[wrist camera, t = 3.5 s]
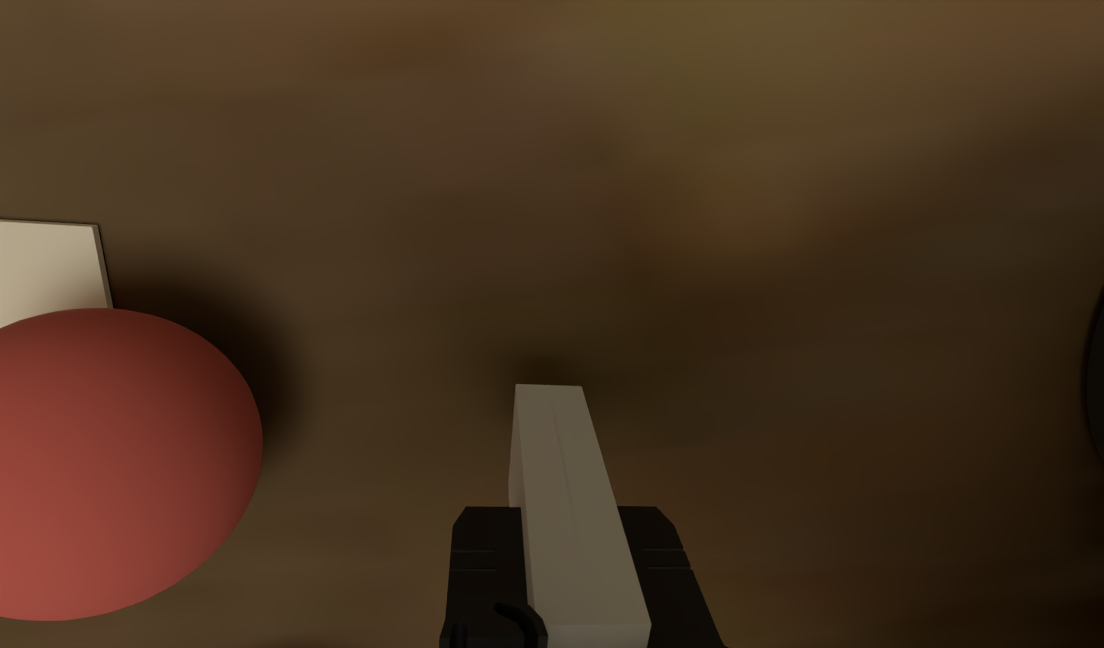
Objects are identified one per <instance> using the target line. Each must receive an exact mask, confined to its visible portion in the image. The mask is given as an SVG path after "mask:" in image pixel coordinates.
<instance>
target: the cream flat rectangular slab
mask: <svg viewBox="0 0 1104 648" xmlns="http://www.w3.org/2000/svg"><path fill="white" fill-rule="evenodd" d="M82 308H112V309H113V304H112V299H111V294H110V288H109V283H108V278H107V273H106V267H105V262H104V257H103V251H102V246H101V241H100V236H99V230H98V225H91V224H74V223H57V222H40V221H23V220H6V219H0V328H2V327H4V326H7V325H9V324H12V323H14V322H17V321H19V320H22V319H26V318H30V317H34V316H37V315H41V314H46V313H50V312H55V311H62V310H69V309H82Z"/></svg>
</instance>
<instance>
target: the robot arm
mask: <svg viewBox="0 0 1104 648" xmlns="http://www.w3.org/2000/svg"><path fill="white" fill-rule="evenodd" d="M1086 401H1087V413H1088V419H1089V424H1090V429H1091V432H1092V436H1093V439H1094V442H1095V445H1096V447H1097V449H1098V452H1099V454H1100V456H1101V458H1102V460H1103V461H1104V304H1103V307H1102V310H1101V313H1100V316H1099V319H1098V322H1097V325H1096V328H1095V332H1094V336H1093V340H1092V344H1091V349H1090V355H1089V361H1088V369H1087V379H1086ZM508 487H509V507H465V509H464V510H463V512H462V513H461V515H460V516H459V518H458V519H457V521H456V522H455V524H454V525H453V531H452V543H451V555H450V568H449V580H448V592H447V605H446V617H445V622H444V625H443V629H442V632H441V635H440V639H439V648H728V647H726V646H724V644H723V642H722V641H721V639H720V636H719V634H718V631H717V629H716V627H715V624H714V622H713V619H712V617H711V614H710V612H709V609H708V607H707V605H706V602H705V600H704V597H703V595H702V592H701V590H700V587H699V585H698V583H697V580H696V578H695V575H694V573H693V570H691V569H690V563H689V561H688V558H687V556H686V553H685V552H683V546H682V543H681V541H680V538H679V536H678V534H677V531H676V529H675V526H674V525H673V524H672V523H671V522H670V521H669V520H668V519H667V518H666V517H665V516H664V515H663V514H662V512H661V511H660V510H659V509H658V508H657V507H643V506H617V505H616V502H615V499H614V495H613V492H612V488H611V485H610V482H609V478H608V475H607V471H606V468H605V465H604V461H603V458H602V454H601V451H600V448H599V444H598V441H597V437H596V434H595V431H594V427H593V424H592V420H591V417H590V414H589V410H588V407H587V403H586V400H585V397H584V393H583V390H582V386H560V385H531V384H516V388H515V401H514V415H513V429H512V442H511V456H510V469H509V483H508Z"/></svg>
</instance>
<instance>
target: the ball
mask: <svg viewBox="0 0 1104 648" xmlns="http://www.w3.org/2000/svg"><path fill="white" fill-rule="evenodd" d="M262 455H263V439H262V425H261V420H260V415H259V412H258V409H257V406H256V403H255V400H254V397H253V394H252V392H251V390H250V388H249V386H248V384H247V382H246V381H245V379H244V378H243V377H242V375H241V374H240V372H239V371H238V369H237V368H236V367H235V366H234V365H233V364H232V362H231V361H230V360H229V359H228V358H227V357H226V356H225V355H224V354H223V353H222V352H221V351H219V350H218V349H217V348H216V347H215V346H214V345H212V344H211V343H210V342H208V341H207V340H205V339H204V338H203V337H201V336H199V335H198V334H196V333H194V332H193V331H191V330H189V329H187V328H185V327H183V326H181V325H179V324H176V323H174V322H172V321H169V320H166V319H163V318H160V317H157V316H154V315H149V314H145V313H140V312H135V311H130V310H122V309H112V308H82V309H69V310H62V311H55V312H50V313H46V314H41V315H37V316H34V317H30V318H26V319H22V320H19V321H17V322H14V323H12V324H9V325H7V326H4V327H2V328H0V616H1V617H6V618H13V619H21V620H39V621H60V620H72V619H78V618H85V617H91V616H96V615H101V614H105V613H109V612H113V611H116V610H119V609H122V608H125V607H127V606H130V605H133V604H136V603H138V602H141V601H143V600H146V599H148V598H150V597H152V596H153V595H155V594H157V593H159V592H161V591H163V590H165V589H166V588H168V587H170V586H172V585H174V584H176V583H177V582H179V581H180V580H181V579H183V578H184V577H185V576H187V575H188V574H190V573H191V572H192V571H193V570H195V569H196V568H197V567H199V566H200V565H201V564H203V563H204V562H205V561H206V560H207V559H208V558H209V557H210V556H211V555H212V554H213V553H214V552H215V551H216V550H217V549H218V548H219V547H220V546H221V545H222V544H223V543H224V541H225V540H226V539H227V537H228V536H229V535H230V533H231V532H232V531H233V529H234V528H235V526H236V525H237V524H238V522H239V521H240V519H241V518H242V516H243V514H244V512H245V510H246V508H247V506H248V504H249V502H250V500H251V498H252V495H253V493H254V490H255V487H256V484H257V481H258V477H259V473H260V469H261V462H262Z"/></svg>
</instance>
